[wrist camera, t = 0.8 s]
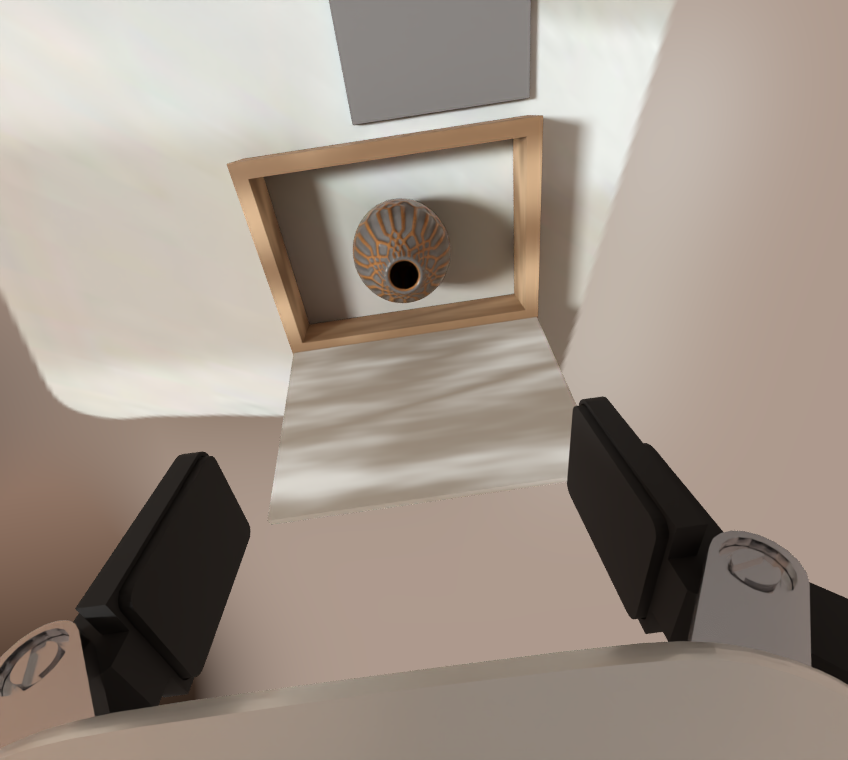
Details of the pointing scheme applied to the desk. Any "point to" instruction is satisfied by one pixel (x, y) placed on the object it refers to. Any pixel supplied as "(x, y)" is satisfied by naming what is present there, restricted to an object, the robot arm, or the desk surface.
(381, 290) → the vase
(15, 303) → the desk surface
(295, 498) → the frame
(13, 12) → the desk surface
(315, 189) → the desk surface
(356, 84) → the mat
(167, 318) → the desk surface
